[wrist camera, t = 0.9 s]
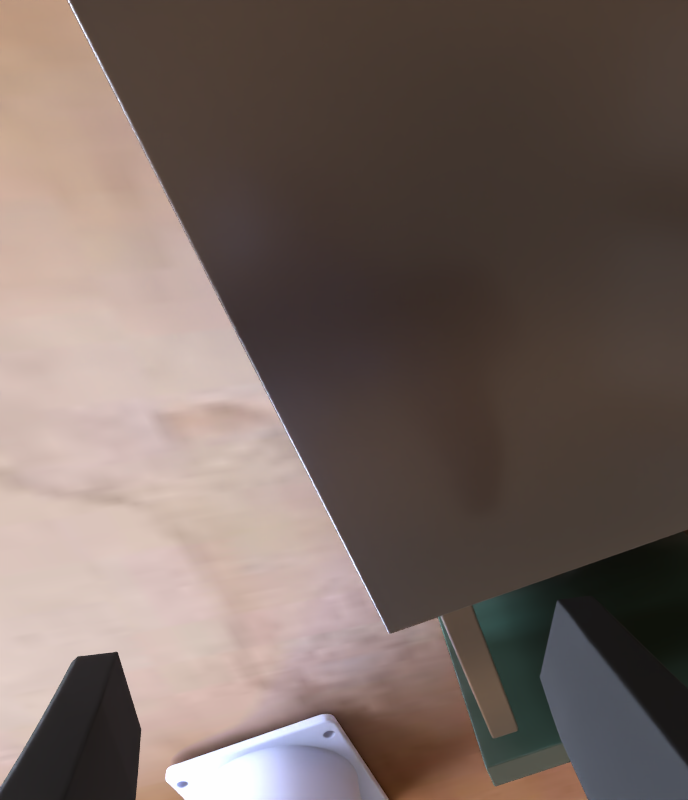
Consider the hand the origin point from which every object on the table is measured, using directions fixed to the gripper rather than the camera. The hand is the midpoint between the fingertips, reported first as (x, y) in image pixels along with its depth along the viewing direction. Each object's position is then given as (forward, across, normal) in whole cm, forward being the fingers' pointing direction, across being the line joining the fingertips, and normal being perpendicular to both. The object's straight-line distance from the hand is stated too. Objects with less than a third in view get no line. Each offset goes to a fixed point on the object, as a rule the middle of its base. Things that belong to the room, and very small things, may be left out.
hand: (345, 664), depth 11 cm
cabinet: (+10, -4, -6) cm, 13 cm away
